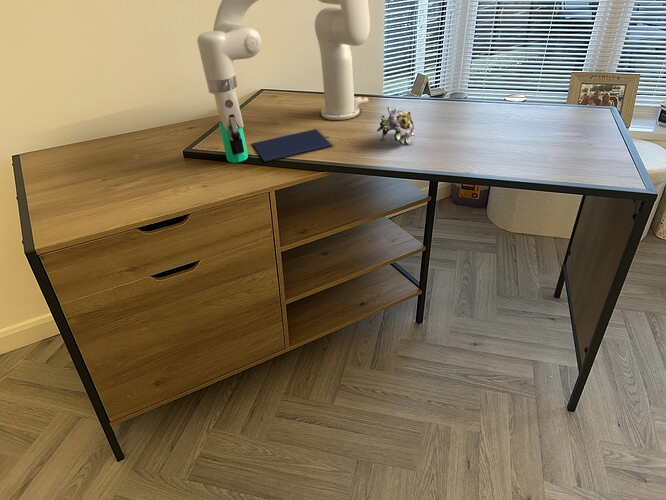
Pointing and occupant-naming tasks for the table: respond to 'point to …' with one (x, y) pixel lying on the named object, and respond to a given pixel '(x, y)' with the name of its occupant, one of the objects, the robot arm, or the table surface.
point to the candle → (227, 145)
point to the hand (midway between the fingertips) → (235, 148)
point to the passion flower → (398, 125)
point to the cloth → (291, 145)
